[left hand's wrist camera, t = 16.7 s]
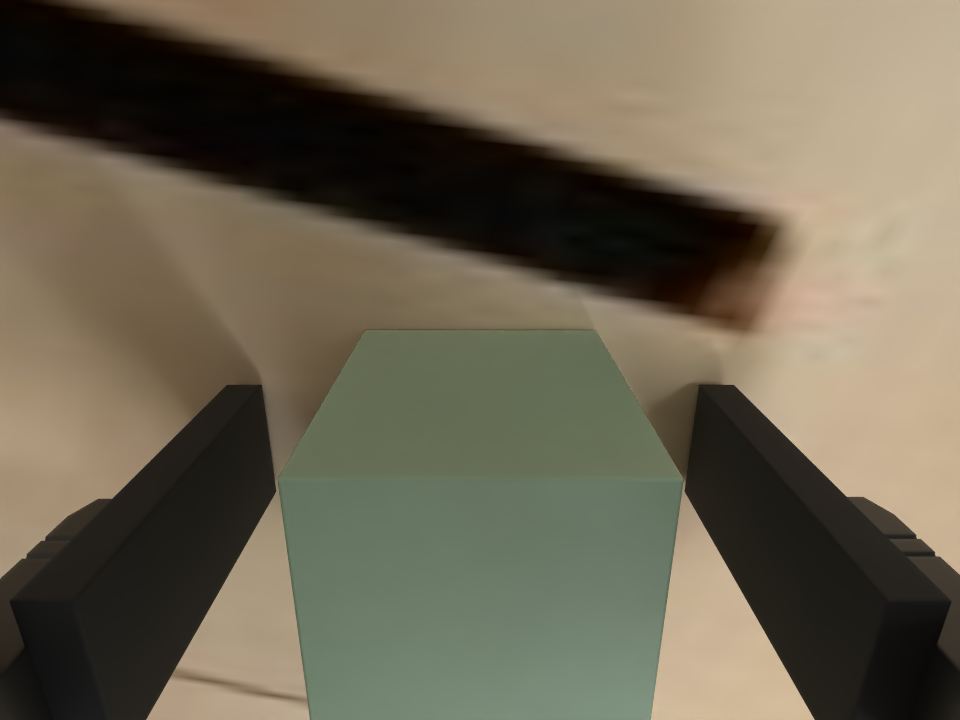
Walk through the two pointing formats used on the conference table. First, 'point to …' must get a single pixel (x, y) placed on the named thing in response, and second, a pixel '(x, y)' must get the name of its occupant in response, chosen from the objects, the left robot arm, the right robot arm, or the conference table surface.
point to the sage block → (480, 532)
